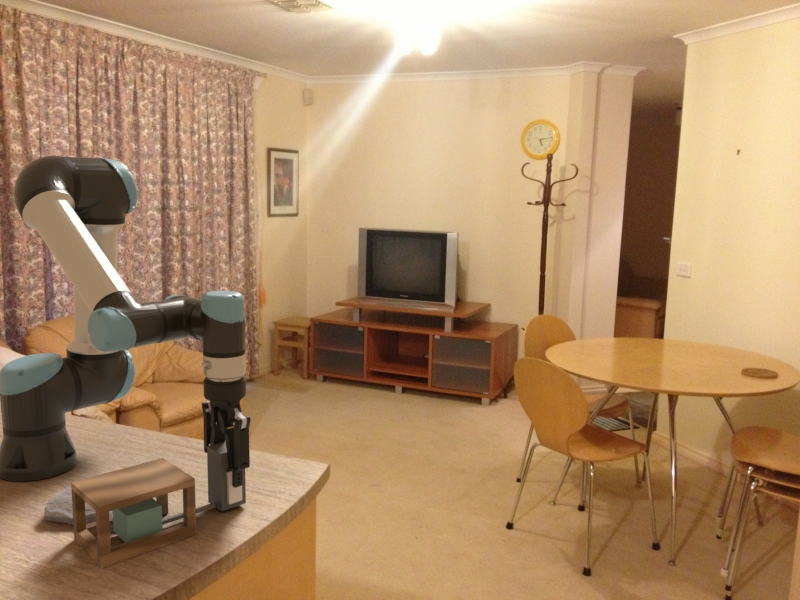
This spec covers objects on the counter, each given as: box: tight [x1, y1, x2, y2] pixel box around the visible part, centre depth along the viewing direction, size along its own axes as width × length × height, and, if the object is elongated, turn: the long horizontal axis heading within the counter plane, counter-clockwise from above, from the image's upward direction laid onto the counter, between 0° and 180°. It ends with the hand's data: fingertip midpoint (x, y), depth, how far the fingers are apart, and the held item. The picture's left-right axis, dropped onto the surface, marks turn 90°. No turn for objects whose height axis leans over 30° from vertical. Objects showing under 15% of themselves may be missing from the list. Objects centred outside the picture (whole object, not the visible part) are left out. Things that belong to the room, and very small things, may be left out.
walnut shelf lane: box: [70, 457, 197, 569], centre depth 117 cm, size 12×16×10 cm
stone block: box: [43, 485, 113, 525], centre depth 125 cm, size 12×5×10 cm
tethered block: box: [112, 441, 247, 543], centre depth 122 cm, size 6×22×11 cm, turn 134°
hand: (226, 496), depth 129 cm, fingers closed on tethered block, 5 cm apart
